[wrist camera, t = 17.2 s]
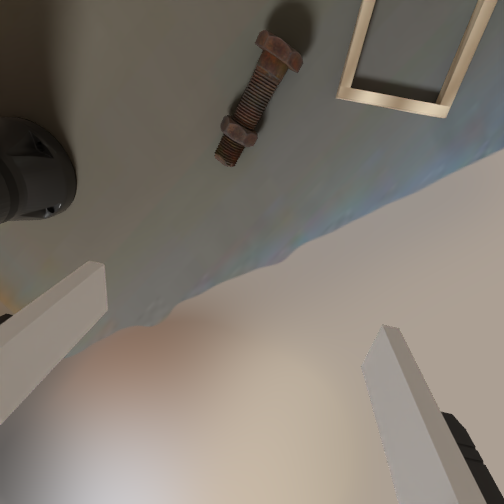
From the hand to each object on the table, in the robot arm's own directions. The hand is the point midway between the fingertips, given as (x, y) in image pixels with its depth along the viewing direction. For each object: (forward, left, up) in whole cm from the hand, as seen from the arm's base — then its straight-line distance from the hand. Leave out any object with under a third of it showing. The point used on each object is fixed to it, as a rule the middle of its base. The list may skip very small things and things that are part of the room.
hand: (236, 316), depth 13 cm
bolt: (-5, +9, -31) cm, 33 cm away
